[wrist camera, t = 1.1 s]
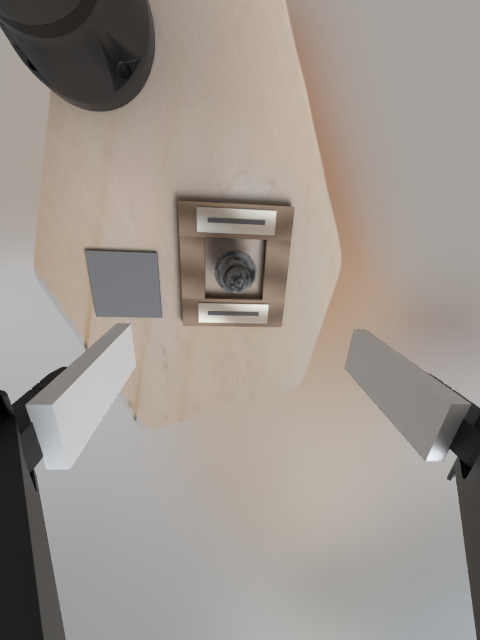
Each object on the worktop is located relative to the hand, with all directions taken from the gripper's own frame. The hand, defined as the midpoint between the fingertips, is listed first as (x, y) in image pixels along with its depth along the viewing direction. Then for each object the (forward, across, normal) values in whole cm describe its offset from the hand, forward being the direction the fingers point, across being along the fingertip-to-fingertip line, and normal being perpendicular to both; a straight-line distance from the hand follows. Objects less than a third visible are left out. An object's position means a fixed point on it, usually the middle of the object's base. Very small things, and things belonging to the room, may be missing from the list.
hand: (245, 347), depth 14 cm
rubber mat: (+24, -16, -2) cm, 29 cm away
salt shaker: (+25, 0, +1) cm, 25 cm away
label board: (+24, 0, +1) cm, 24 cm away
